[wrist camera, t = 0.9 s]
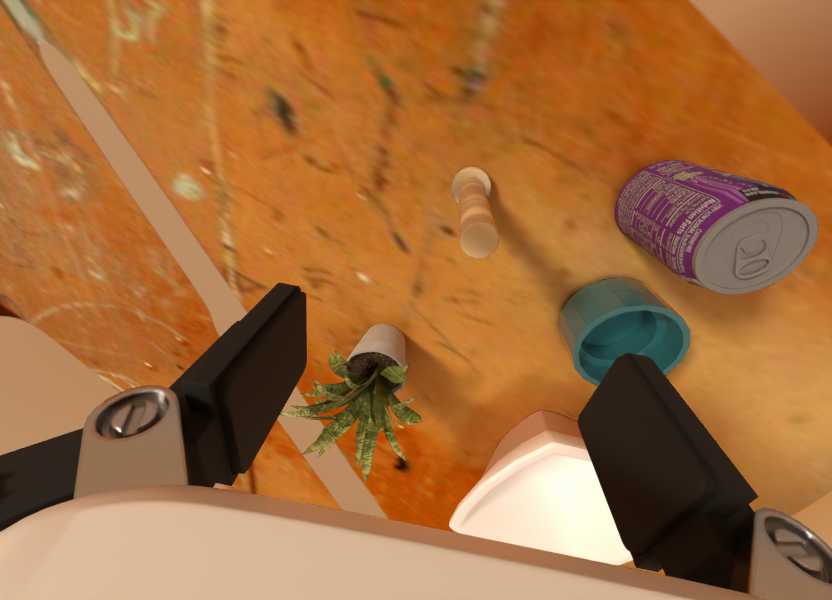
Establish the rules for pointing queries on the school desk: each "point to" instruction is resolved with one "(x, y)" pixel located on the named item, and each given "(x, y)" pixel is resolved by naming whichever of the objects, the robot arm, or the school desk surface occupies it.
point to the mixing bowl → (621, 327)
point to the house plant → (364, 395)
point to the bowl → (543, 494)
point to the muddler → (475, 212)
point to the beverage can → (716, 226)
